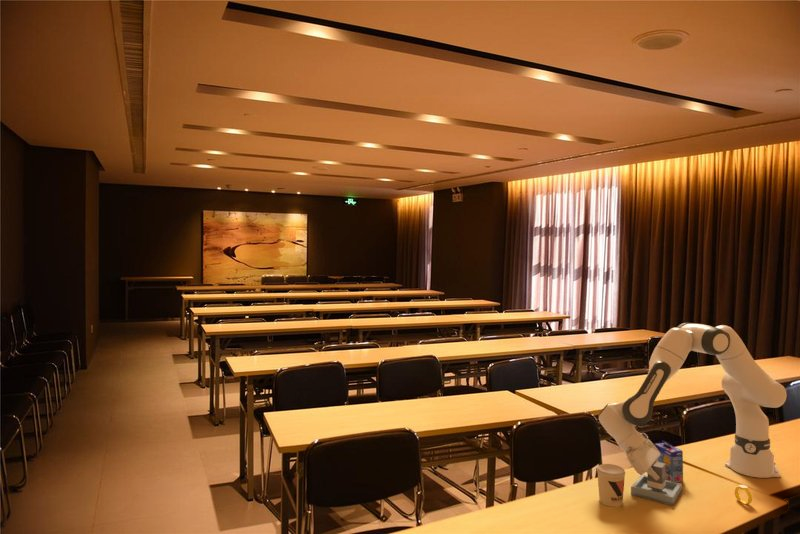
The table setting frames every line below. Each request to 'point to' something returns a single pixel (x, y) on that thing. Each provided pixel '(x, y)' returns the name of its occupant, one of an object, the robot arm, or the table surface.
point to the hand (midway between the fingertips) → (660, 476)
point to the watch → (747, 493)
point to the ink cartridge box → (671, 461)
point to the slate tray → (656, 491)
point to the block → (661, 482)
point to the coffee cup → (611, 484)
